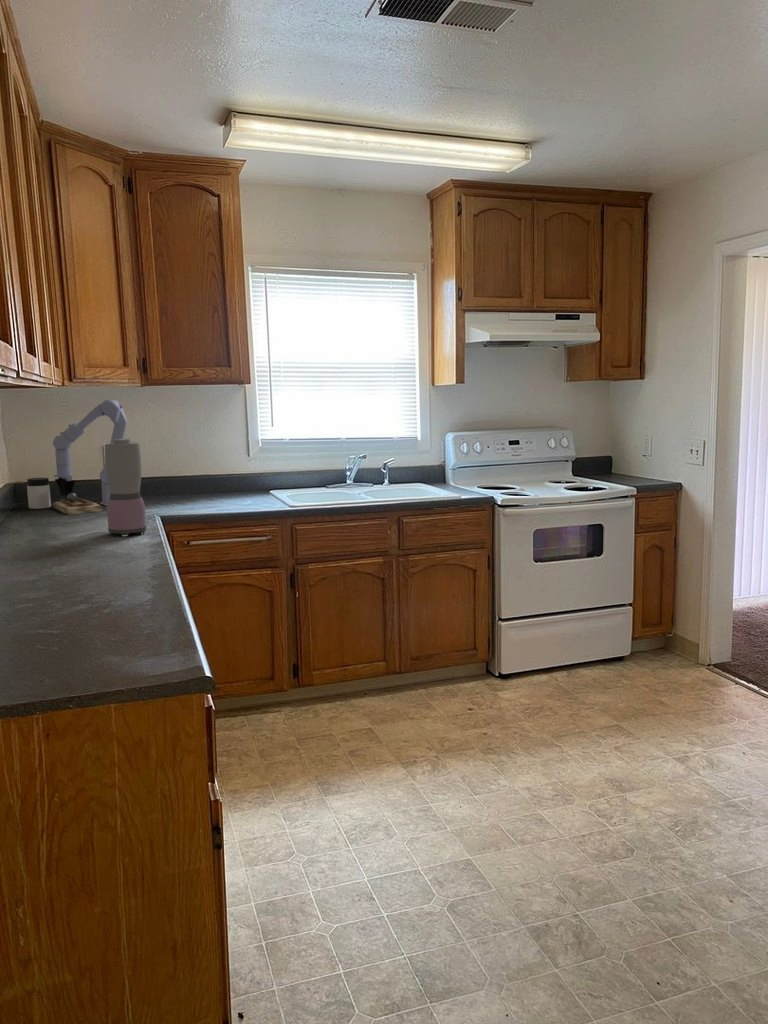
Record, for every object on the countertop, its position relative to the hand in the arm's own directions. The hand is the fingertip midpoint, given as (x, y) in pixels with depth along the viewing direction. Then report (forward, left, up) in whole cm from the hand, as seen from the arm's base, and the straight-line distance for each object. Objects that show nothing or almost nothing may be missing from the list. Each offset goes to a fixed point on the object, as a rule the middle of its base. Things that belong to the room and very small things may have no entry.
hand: (66, 496), depth 317 cm
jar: (+11, 0, -4) cm, 11 cm away
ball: (0, +10, +1) cm, 10 cm away
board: (0, +16, -4) cm, 16 cm away
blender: (+1, +78, -4) cm, 78 cm away
